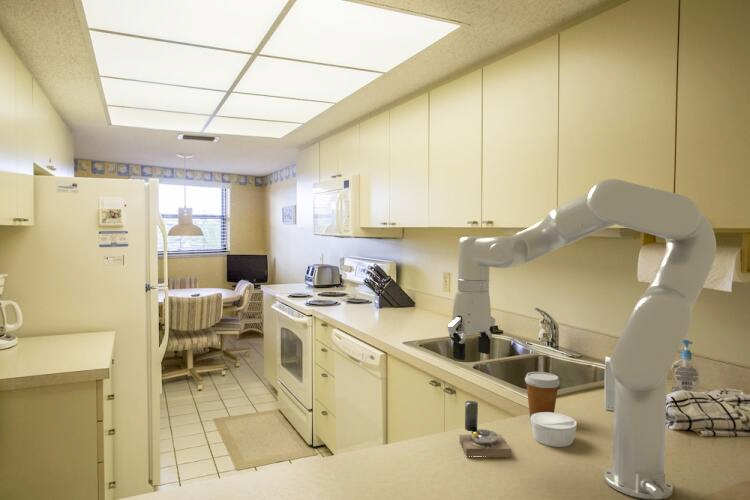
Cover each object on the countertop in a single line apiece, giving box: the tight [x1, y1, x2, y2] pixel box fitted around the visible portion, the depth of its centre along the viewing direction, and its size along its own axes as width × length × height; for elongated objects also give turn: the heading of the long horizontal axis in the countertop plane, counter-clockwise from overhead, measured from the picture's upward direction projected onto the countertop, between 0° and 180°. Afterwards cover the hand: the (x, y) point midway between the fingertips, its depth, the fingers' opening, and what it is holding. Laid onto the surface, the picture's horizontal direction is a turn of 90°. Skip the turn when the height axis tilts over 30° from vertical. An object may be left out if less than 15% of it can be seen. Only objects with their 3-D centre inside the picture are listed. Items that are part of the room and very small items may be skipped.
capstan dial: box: [464, 400, 498, 445], centre depth 121 cm, size 7×8×8 cm
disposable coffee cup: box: [524, 371, 561, 418], centre depth 142 cm, size 10×10×12 cm
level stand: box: [459, 434, 512, 458], centre depth 120 cm, size 8×10×2 cm
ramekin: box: [530, 412, 578, 448], centre depth 127 cm, size 11×11×5 cm
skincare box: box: [604, 355, 615, 412], centre depth 151 cm, size 8×6×15 cm
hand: (471, 356), depth 123 cm, fingers open, 9 cm apart
